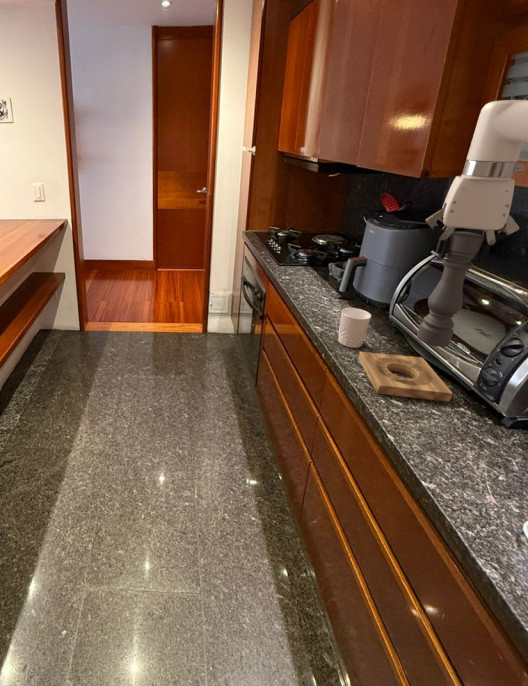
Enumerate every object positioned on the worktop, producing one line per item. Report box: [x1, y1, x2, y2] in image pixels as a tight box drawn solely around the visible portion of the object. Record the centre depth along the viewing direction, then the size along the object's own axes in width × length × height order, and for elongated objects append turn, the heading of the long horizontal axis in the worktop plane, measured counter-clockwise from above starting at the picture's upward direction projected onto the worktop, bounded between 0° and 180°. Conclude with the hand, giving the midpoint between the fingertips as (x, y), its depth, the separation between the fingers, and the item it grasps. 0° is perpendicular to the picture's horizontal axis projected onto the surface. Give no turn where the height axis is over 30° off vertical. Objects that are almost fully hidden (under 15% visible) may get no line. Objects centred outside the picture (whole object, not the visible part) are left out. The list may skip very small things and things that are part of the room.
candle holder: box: [416, 231, 484, 348], centre depth 85 cm, size 6×6×25 cm
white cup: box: [337, 307, 372, 349], centre depth 117 cm, size 8×8×10 cm
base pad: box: [357, 351, 453, 403], centre depth 101 cm, size 16×16×2 cm
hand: (459, 258), depth 82 cm, fingers closed on candle holder, 5 cm apart
